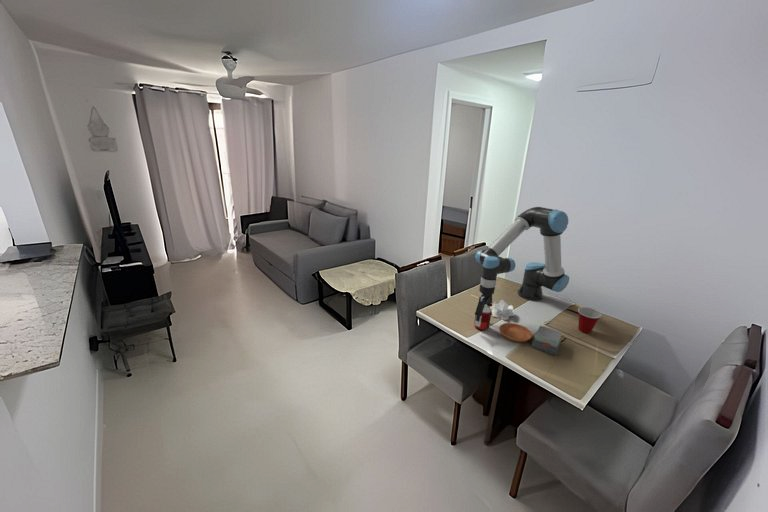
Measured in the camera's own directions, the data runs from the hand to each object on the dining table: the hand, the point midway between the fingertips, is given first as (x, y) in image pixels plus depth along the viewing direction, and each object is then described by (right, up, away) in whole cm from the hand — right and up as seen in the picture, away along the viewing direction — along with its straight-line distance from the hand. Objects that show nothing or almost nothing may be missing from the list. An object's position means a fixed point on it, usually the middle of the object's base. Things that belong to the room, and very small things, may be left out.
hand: (481, 320), depth 166 cm
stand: (+28, -9, -14) cm, 33 cm away
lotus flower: (+16, 0, +15) cm, 22 cm away
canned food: (0, -4, +1) cm, 4 cm away
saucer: (+16, -7, -6) cm, 18 cm away
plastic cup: (+57, -6, 0) cm, 57 cm away
